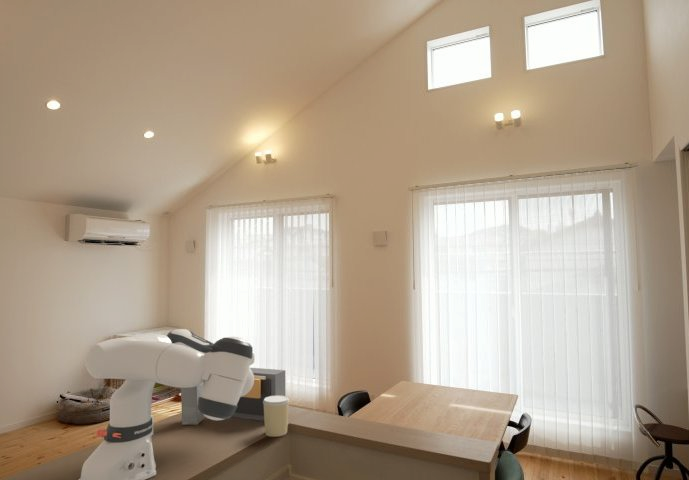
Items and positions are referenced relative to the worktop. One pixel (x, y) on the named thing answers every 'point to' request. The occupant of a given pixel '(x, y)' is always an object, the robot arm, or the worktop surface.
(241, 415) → the grey rectangular box
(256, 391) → the panel
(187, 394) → the skincare box
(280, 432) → the coffee cup
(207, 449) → the worktop surface
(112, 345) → the robot arm
